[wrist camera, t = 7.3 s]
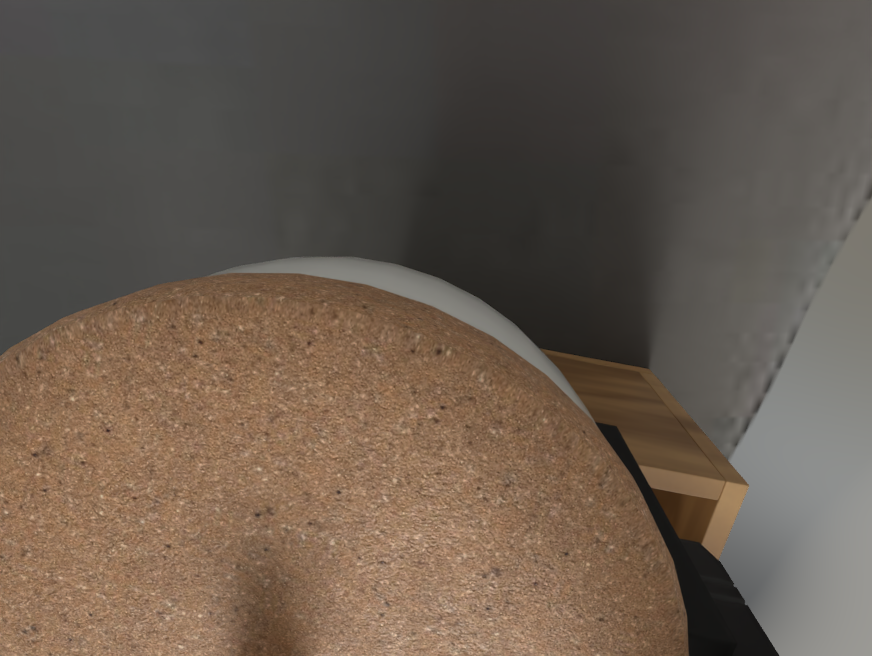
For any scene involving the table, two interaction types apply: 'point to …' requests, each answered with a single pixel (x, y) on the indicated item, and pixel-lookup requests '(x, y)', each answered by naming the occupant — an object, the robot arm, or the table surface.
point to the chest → (662, 446)
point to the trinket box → (315, 480)
